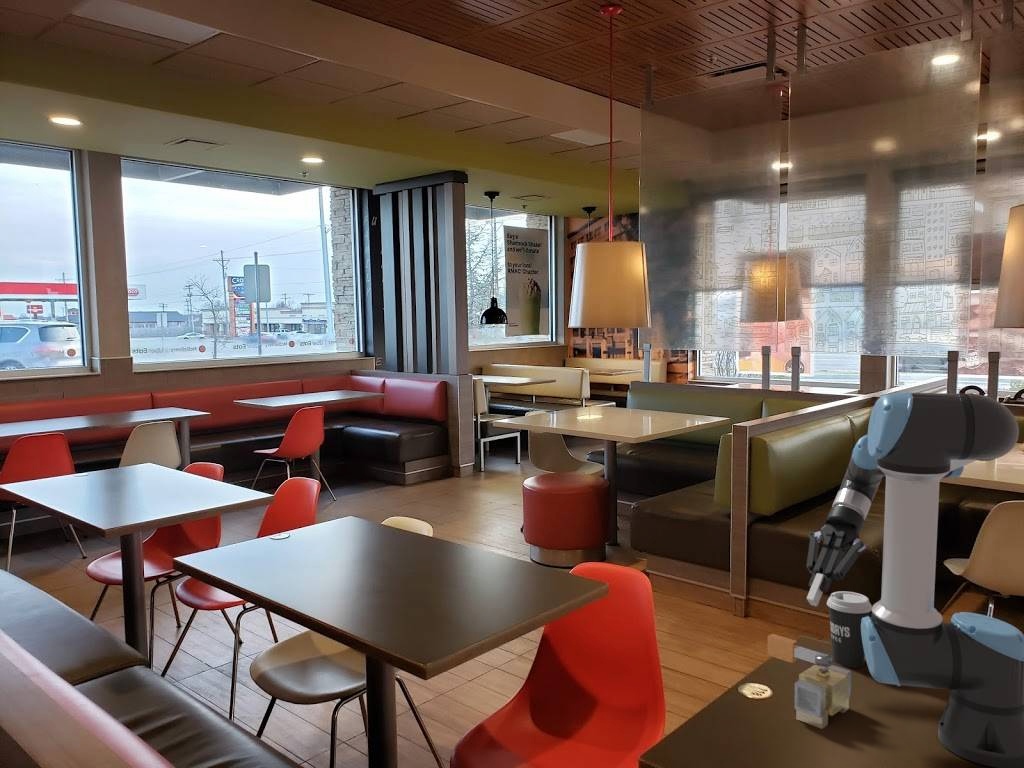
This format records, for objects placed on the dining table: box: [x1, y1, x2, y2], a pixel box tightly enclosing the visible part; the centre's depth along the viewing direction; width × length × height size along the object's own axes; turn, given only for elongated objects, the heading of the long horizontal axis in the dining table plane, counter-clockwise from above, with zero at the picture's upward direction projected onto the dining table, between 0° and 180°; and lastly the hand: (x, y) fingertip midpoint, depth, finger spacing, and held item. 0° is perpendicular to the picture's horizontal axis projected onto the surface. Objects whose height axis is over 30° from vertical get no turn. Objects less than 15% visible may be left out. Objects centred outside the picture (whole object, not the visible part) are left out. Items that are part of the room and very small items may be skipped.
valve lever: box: [767, 633, 833, 672], centre depth 157 cm, size 13×3×4 cm, turn 43°
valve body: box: [793, 664, 852, 730], centre depth 153 cm, size 13×7×9 cm, turn 132°
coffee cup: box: [826, 590, 873, 668], centre depth 178 cm, size 10×10×15 cm
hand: (811, 602), depth 169 cm, fingers closed
